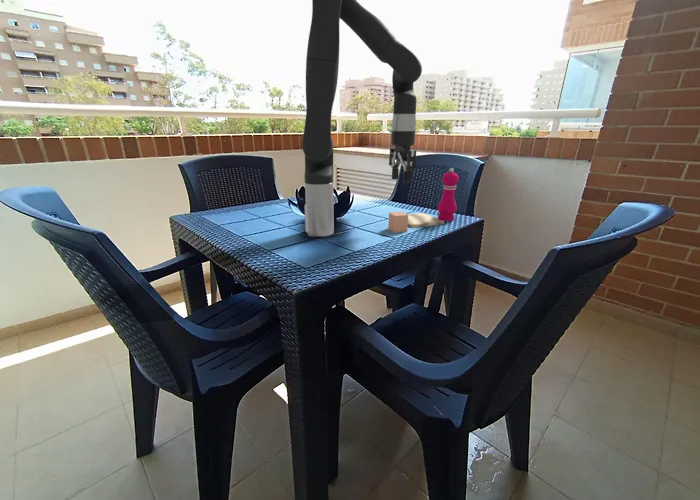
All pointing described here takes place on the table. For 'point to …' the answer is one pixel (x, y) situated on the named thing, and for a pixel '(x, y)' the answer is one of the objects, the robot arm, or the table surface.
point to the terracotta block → (398, 221)
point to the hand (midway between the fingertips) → (400, 181)
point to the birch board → (422, 220)
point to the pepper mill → (448, 196)
